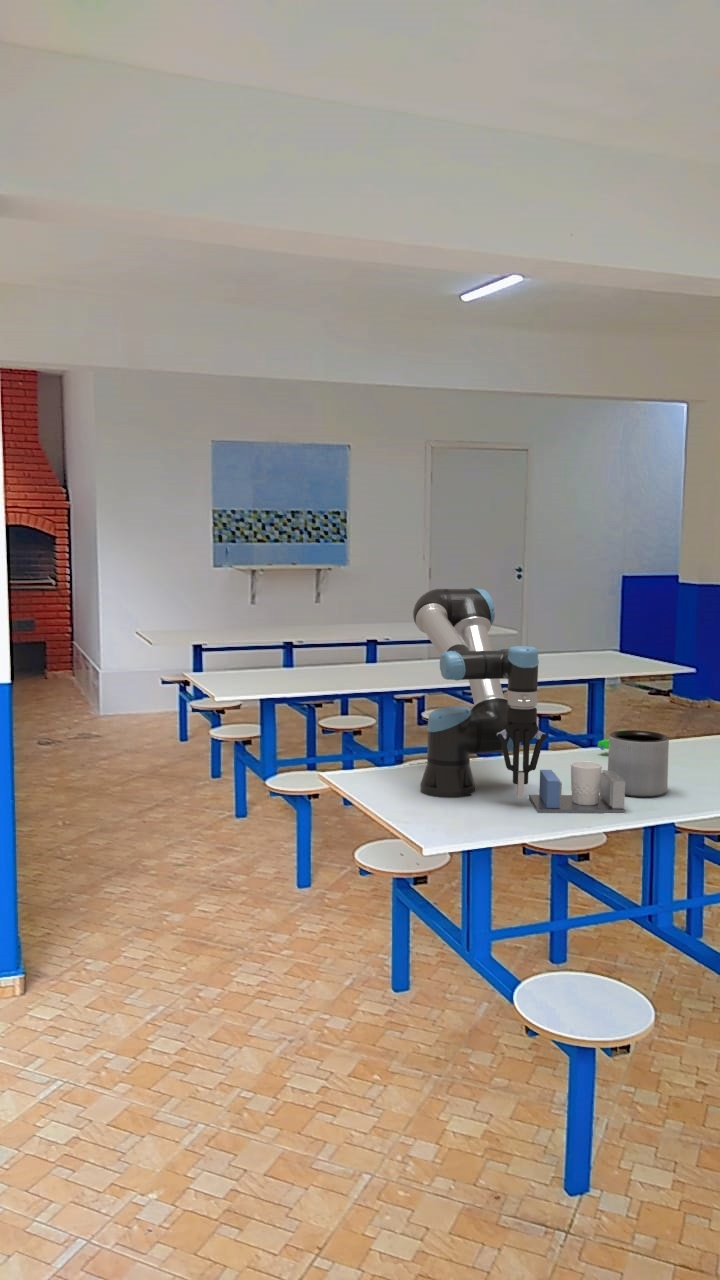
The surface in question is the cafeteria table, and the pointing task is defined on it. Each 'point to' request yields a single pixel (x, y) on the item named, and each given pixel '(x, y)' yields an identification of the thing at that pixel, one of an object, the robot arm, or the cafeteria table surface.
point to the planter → (640, 761)
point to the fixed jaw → (612, 789)
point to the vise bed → (573, 806)
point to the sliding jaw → (550, 789)
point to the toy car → (604, 743)
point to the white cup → (585, 782)
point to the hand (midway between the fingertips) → (520, 796)
